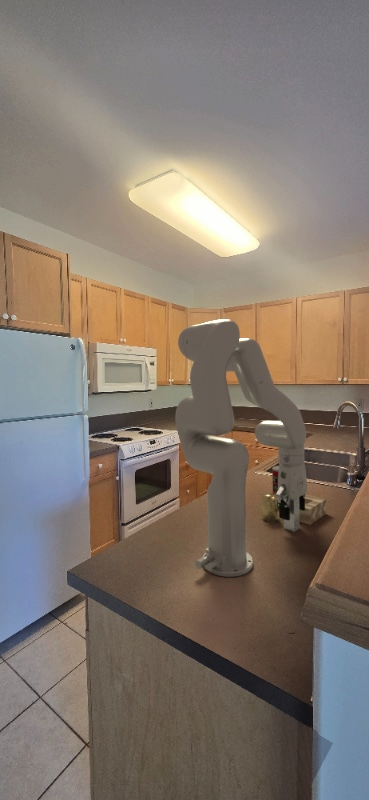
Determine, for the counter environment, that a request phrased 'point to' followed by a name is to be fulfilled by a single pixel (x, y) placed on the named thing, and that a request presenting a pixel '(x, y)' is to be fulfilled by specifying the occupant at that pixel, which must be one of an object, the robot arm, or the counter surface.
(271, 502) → the round bit
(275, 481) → the canned food
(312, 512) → the socket block
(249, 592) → the counter surface
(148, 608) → the counter surface
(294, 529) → the square bit
